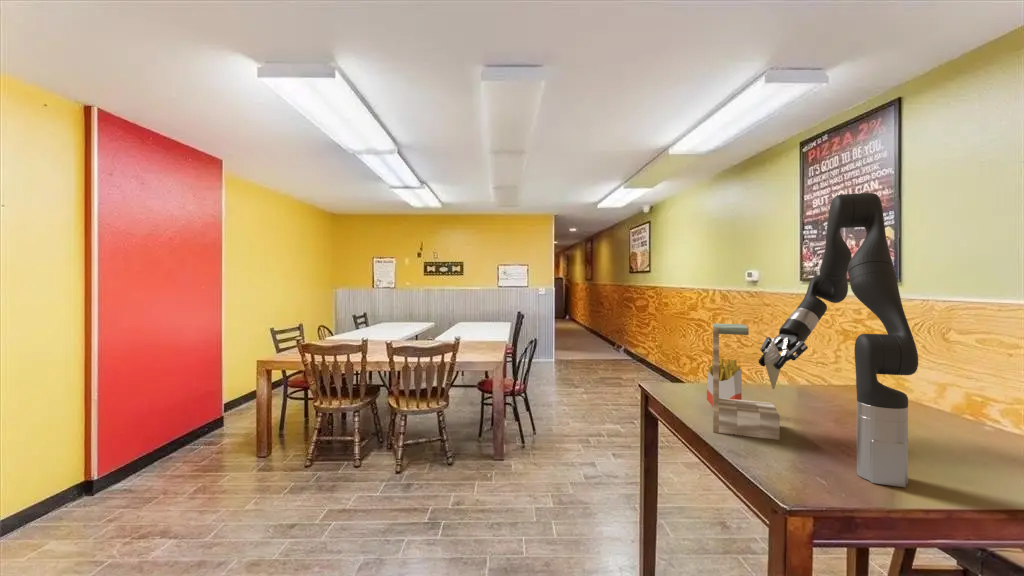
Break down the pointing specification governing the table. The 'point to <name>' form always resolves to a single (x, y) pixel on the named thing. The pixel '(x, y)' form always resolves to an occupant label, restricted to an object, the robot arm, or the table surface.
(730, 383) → the french fries container
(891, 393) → the robot arm
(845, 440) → the table surface
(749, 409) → the cone stand
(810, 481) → the table surface
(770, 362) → the ice cream cone
